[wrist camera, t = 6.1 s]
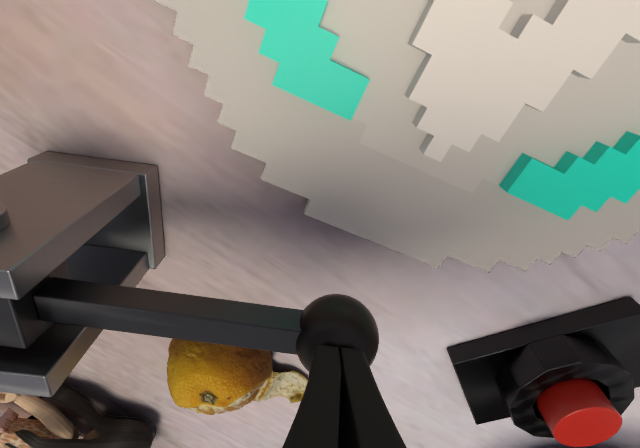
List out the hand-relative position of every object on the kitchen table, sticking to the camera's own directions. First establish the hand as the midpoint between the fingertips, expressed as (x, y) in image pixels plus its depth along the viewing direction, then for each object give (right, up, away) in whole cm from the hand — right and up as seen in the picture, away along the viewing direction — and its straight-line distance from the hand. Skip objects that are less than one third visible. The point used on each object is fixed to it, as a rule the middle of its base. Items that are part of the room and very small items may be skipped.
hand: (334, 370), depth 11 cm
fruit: (-6, -5, +12) cm, 14 cm away
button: (+13, -5, +9) cm, 16 cm away
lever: (-5, +2, +2) cm, 6 cm away
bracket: (-11, +5, +7) cm, 14 cm away
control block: (+13, -4, +11) cm, 17 cm away
